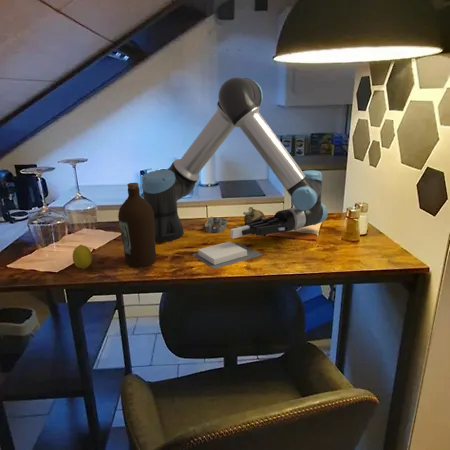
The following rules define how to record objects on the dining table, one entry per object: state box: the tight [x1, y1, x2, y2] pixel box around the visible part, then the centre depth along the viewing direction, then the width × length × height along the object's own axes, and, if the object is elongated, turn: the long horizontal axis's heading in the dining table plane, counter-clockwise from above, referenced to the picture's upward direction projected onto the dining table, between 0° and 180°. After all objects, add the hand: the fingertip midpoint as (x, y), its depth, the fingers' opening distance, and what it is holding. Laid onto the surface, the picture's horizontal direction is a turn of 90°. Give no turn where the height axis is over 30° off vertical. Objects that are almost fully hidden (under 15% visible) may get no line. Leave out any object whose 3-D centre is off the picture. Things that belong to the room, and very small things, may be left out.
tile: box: [197, 241, 247, 265], centre depth 128 cm, size 2×10×12 cm
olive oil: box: [117, 182, 157, 268], centre depth 124 cm, size 11×11×25 cm
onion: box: [242, 206, 266, 224], centre depth 156 cm, size 8×8×8 cm
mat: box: [191, 242, 263, 270], centre depth 129 cm, size 18×14×1 cm
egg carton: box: [204, 216, 228, 234], centre depth 156 cm, size 11×8×4 cm
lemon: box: [72, 244, 93, 270], centre depth 122 cm, size 6×6×8 cm
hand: (231, 233), depth 128 cm, fingers closed
